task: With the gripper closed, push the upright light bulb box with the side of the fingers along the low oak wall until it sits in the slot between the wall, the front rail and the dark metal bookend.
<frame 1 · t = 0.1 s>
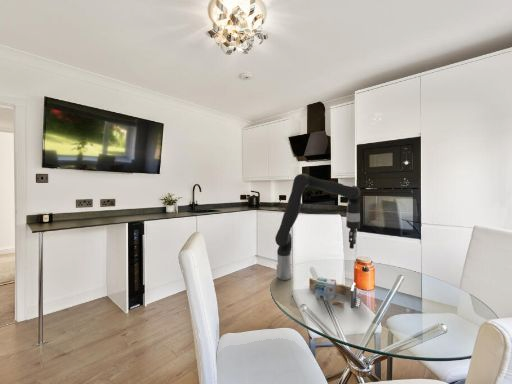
hand: (352, 246, 148), 29 cm above the table, fingers open, 8 cm apart
shelf: (329, 297, 146), on the table
light bulb box: (325, 297, 146), on the table
bookend: (353, 302, 140), on the table
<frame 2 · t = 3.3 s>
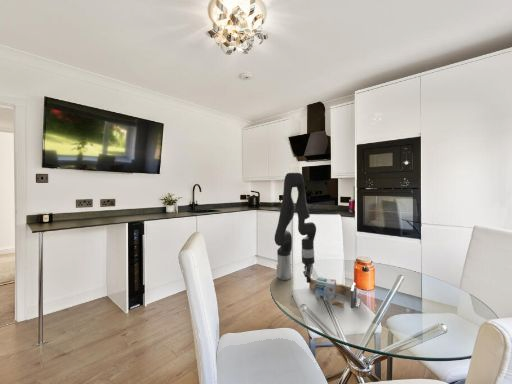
hand: (308, 282, 151), 7 cm above the table, fingers closed
nothing on the table moved.
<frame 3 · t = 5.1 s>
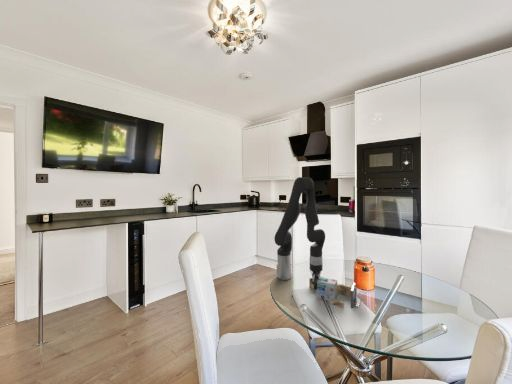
hand: (315, 289, 149), 4 cm above the table, fingers closed
light bulb box: (326, 297, 146), on the table, touching hand
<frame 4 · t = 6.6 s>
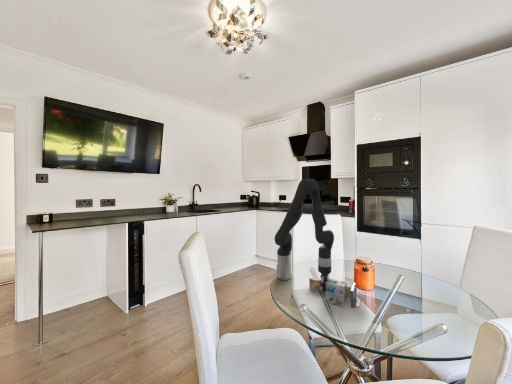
hand: (324, 291, 146), 3 cm above the table, fingers closed
light bulb box: (335, 299, 144), on the table, touching hand
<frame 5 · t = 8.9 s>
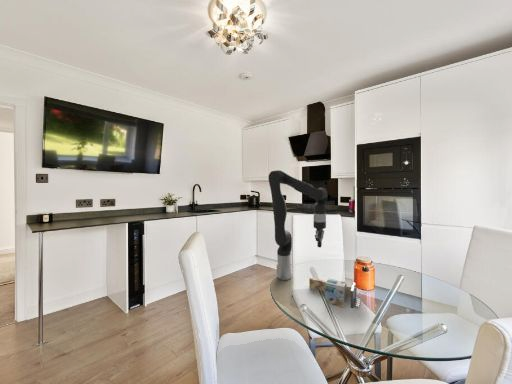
hand: (319, 246, 155), 27 cm above the table, fingers closed
light bulb box: (335, 300, 144), on the table
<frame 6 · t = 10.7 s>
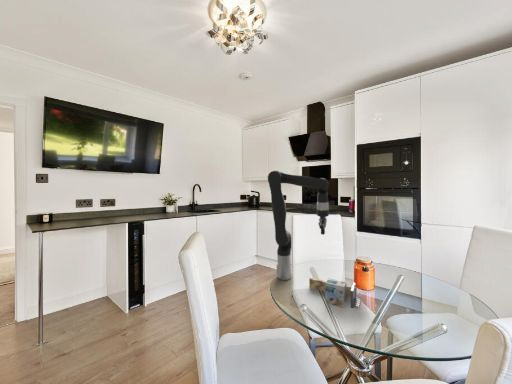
hand: (322, 234, 164), 32 cm above the table, fingers closed
nothing on the table moved.
at the end: light bulb box inside the target area (3.7 cm from its centre), on the table; light bulb box tilted 0° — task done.
